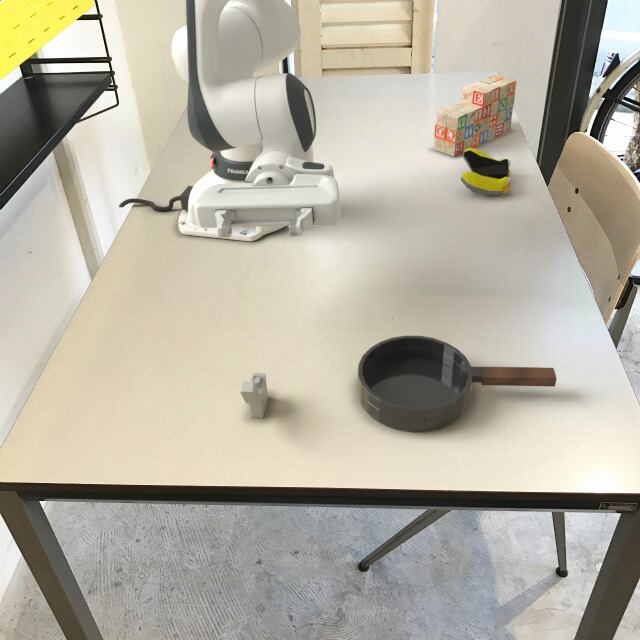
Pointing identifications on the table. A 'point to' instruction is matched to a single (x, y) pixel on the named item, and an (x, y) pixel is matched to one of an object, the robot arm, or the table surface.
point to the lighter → (255, 394)
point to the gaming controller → (486, 173)
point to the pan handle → (514, 376)
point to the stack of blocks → (475, 116)
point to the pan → (414, 383)
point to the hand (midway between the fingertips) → (258, 232)
